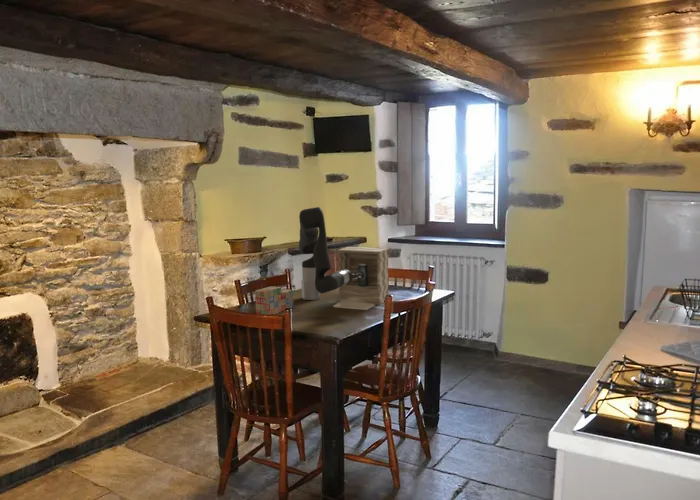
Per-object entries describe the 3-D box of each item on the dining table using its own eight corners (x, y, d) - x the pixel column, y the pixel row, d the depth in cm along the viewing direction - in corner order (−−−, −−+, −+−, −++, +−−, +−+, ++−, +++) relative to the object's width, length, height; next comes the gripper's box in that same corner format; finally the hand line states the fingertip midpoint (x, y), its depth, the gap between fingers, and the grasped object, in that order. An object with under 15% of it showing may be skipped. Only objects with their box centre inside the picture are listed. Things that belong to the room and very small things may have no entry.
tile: (366, 309, 277) (366, 308, 277) (333, 307, 284) (333, 305, 284) (374, 305, 288) (374, 303, 287) (341, 302, 294) (341, 301, 294)
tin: (360, 287, 294) (359, 264, 292) (357, 285, 299) (356, 262, 297) (369, 286, 295) (369, 263, 294) (366, 284, 300) (366, 262, 299)
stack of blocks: (283, 306, 287) (283, 282, 286) (293, 308, 284) (293, 283, 282) (255, 315, 269) (254, 290, 268) (265, 317, 266) (265, 291, 264)
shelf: (380, 305, 288) (379, 251, 284) (338, 301, 296) (337, 250, 293) (389, 299, 301) (389, 248, 298) (349, 296, 310) (348, 246, 307)
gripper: (355, 270, 267) (367, 266, 282) (327, 269, 272) (341, 265, 287) (355, 286, 268) (367, 281, 283) (328, 285, 273) (341, 279, 288)
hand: (354, 273), depth 285 cm, fingers open, 8 cm apart
